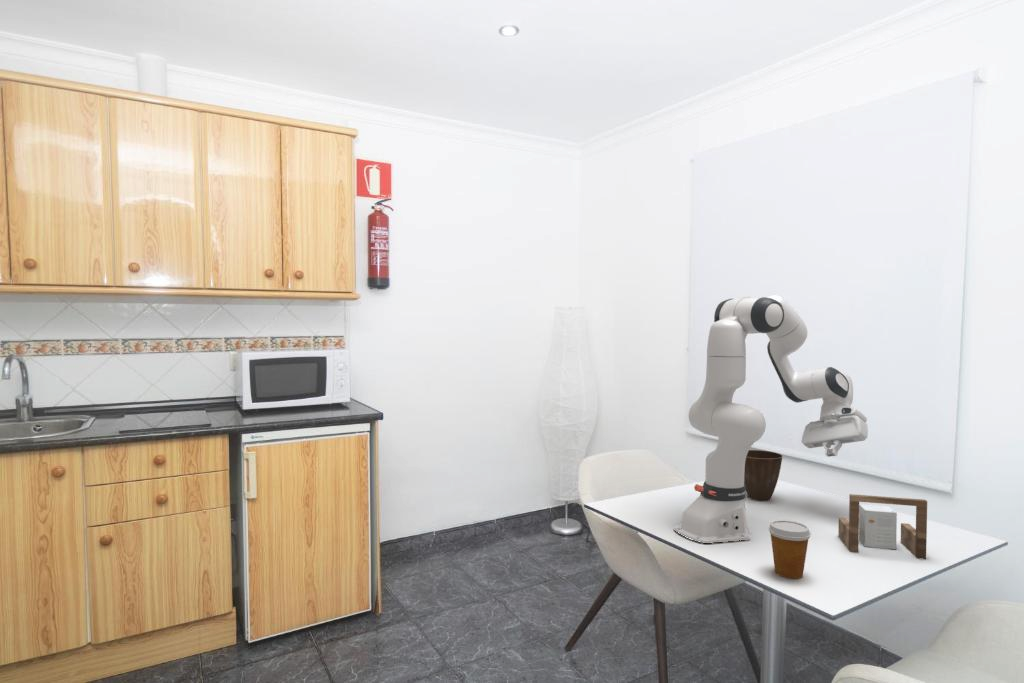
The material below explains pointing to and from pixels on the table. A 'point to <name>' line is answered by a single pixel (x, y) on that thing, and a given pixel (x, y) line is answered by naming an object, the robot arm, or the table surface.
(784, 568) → the disposable coffee cup
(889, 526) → the small box
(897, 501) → the wooden archway
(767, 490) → the plant pot
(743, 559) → the table surface
